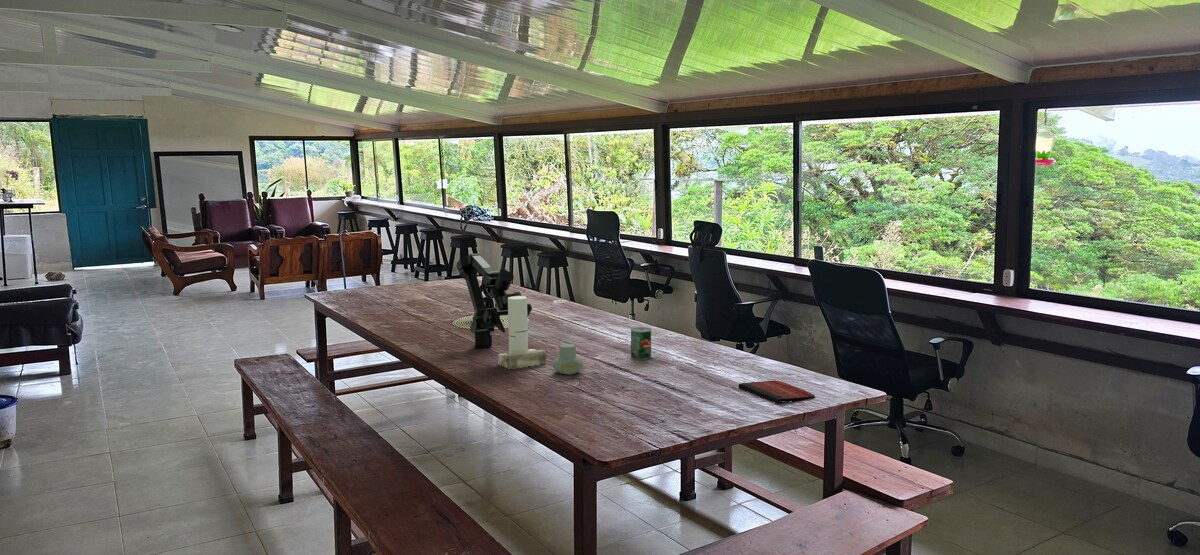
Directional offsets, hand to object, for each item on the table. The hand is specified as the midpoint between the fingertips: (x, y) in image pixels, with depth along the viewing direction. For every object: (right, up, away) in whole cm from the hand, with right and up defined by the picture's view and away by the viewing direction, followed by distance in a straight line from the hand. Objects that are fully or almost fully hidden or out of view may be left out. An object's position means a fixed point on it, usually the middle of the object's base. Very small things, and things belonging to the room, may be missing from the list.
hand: (515, 330), depth 310 cm
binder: (+90, -18, -42) cm, 101 cm away
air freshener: (+21, -14, -15) cm, 29 cm away
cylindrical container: (+1, -12, 0) cm, 12 cm away
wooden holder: (+3, -12, -2) cm, 13 cm away
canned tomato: (+48, -11, +7) cm, 50 cm away
